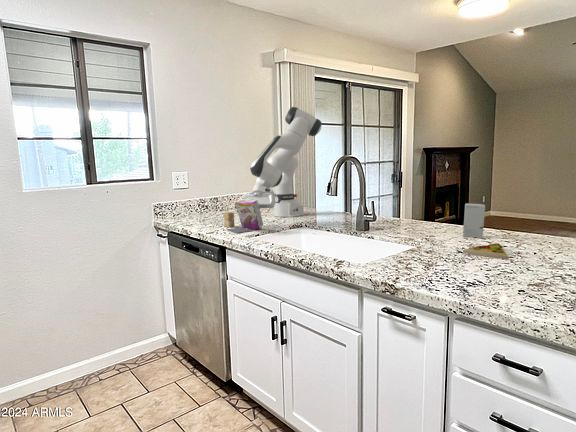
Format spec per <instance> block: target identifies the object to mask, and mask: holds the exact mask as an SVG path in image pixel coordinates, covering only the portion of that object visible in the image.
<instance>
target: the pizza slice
mask: <svg viewBox="0 0 576 432" xmlns="http://www.w3.org/2000/svg"><path fill="white" fill-rule="evenodd" d="M462 253H463V254H466V253H467V255H471V256H476V255H477V257H482V256H483V258H490V259H491V258H493V259H502V260H508V259H509V256H508V254H507V253H506V251H505V249H504V248H503V246H502V245H501V244H500V243H498V242H497V243H496V242H495V243H490V244H487V245H478V246H475V247H474V246H473V247H472V246H471V247H468V248H465V249H463V251H462Z"/></svg>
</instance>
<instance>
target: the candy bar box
mask: <svg viewBox="0 0 576 432" xmlns="http://www.w3.org/2000/svg"><path fill="white" fill-rule="evenodd" d="M234 203H235V207H236V208H235V209H236V210H237V214H238V217H239V221H240V225H241V227H243V228H247V229H250V230H261V229H262V227H263V226H264V221H263V218H262V213H261V208H260V209H259V205H258V201H257V200H254V199H244V198H241V197H239V198H238V199H237V200H236V201H235V202H234Z"/></svg>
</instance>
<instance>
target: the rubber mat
mask: <svg viewBox="0 0 576 432" xmlns="http://www.w3.org/2000/svg"><path fill="white" fill-rule="evenodd" d="M225 230H226V231H227V230H228V232H230V231H231V233H234V234H242V233H249V232H254V229H251V228H243V227H242V226H241V227H236V228H235V227H232V228H228V229H225Z"/></svg>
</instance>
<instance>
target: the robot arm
mask: <svg viewBox="0 0 576 432" xmlns="http://www.w3.org/2000/svg"><path fill="white" fill-rule="evenodd" d="M284 116H285V118H284V119H285V122H286V124H288V126H287V128H286V130H285V132H284V133H283V134H281V135H276V136H275V137H273V139H272V140H271V141H270V142H269V144H268V145H267V146H266V147H265V148H264V149H263V150H262V151H261V153H260V154H259V155H258V156H257V157H256V159H254V161H252V162H251V164H250V166H249V169H250V172H251V175H252V176H255V177H256V180H255V184H254V186H253V188H252V190H251V192H245V193H243V194H242V195H241V197H240V198H244V199H254V200H257V201H258V205H259V209H260V210H261V209H273V208H274V212H273V217H277V218H278V217H280V218H292V217H293V218H294V217H299V216H304V215H307V214H308V212H306V211H304V210H305V209H304V206H303V204H302V203H301V202H299V201H298V200H297V199H295V198H297V197H298V195H299V194H298V193H297V194H296V193H293V182H294V181H293V179H294V175H295V171H296V170H297V168H298V167H299V160H298V158H297V157H296V155H297V154H299V152H300V151H301V149H302V147H303V145H304V143H305V141H306V139H307V137H308V136H310V137H315V136H317V135H318V134H319V133H320V131H321V130H322V125H323V123H322V121H321V120H320V119H318V118H317V117H315V116H314V115H312V114H311V113H309V112H306V111H304V110H302V109H300V108H299V107H295V106H291V107H290V108H288V110H287V111H286V112H285V115H284ZM276 149H277V151H275V150H276ZM274 151H275V153H274ZM273 153H274V154H273ZM271 154H273V155H271ZM273 188H275V190H273Z"/></svg>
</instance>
